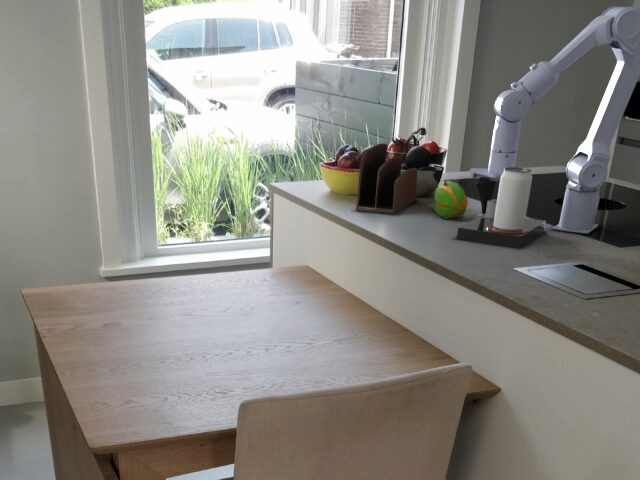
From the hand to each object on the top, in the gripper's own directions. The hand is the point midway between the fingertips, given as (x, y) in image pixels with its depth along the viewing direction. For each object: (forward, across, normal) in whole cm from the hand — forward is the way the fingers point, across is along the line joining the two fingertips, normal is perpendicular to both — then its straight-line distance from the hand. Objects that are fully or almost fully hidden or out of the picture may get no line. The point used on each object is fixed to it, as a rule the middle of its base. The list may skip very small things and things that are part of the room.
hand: (494, 214), depth 190 cm
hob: (+3, +5, -5) cm, 7 cm away
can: (0, +8, -8) cm, 12 cm away
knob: (0, 0, 0) cm, 0 cm away
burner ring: (0, +8, -8) cm, 12 cm away
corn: (+3, -16, +6) cm, 18 cm away
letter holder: (+3, -32, +3) cm, 32 cm away
